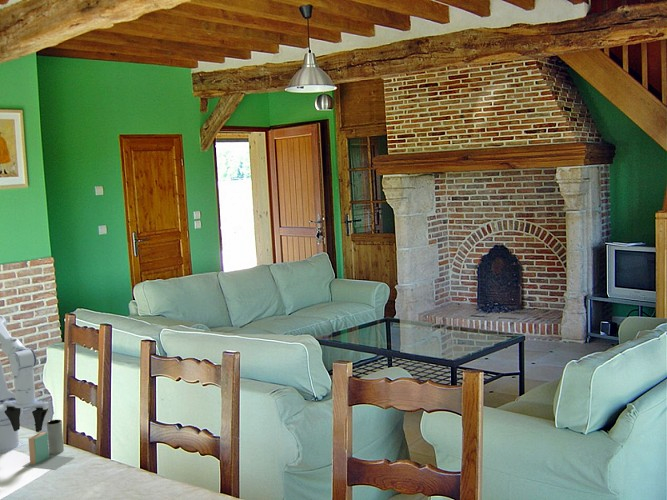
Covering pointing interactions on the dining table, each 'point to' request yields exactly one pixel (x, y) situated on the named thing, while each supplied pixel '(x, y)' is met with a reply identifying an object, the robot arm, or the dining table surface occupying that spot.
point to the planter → (55, 436)
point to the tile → (38, 447)
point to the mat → (51, 462)
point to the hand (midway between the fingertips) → (27, 430)
